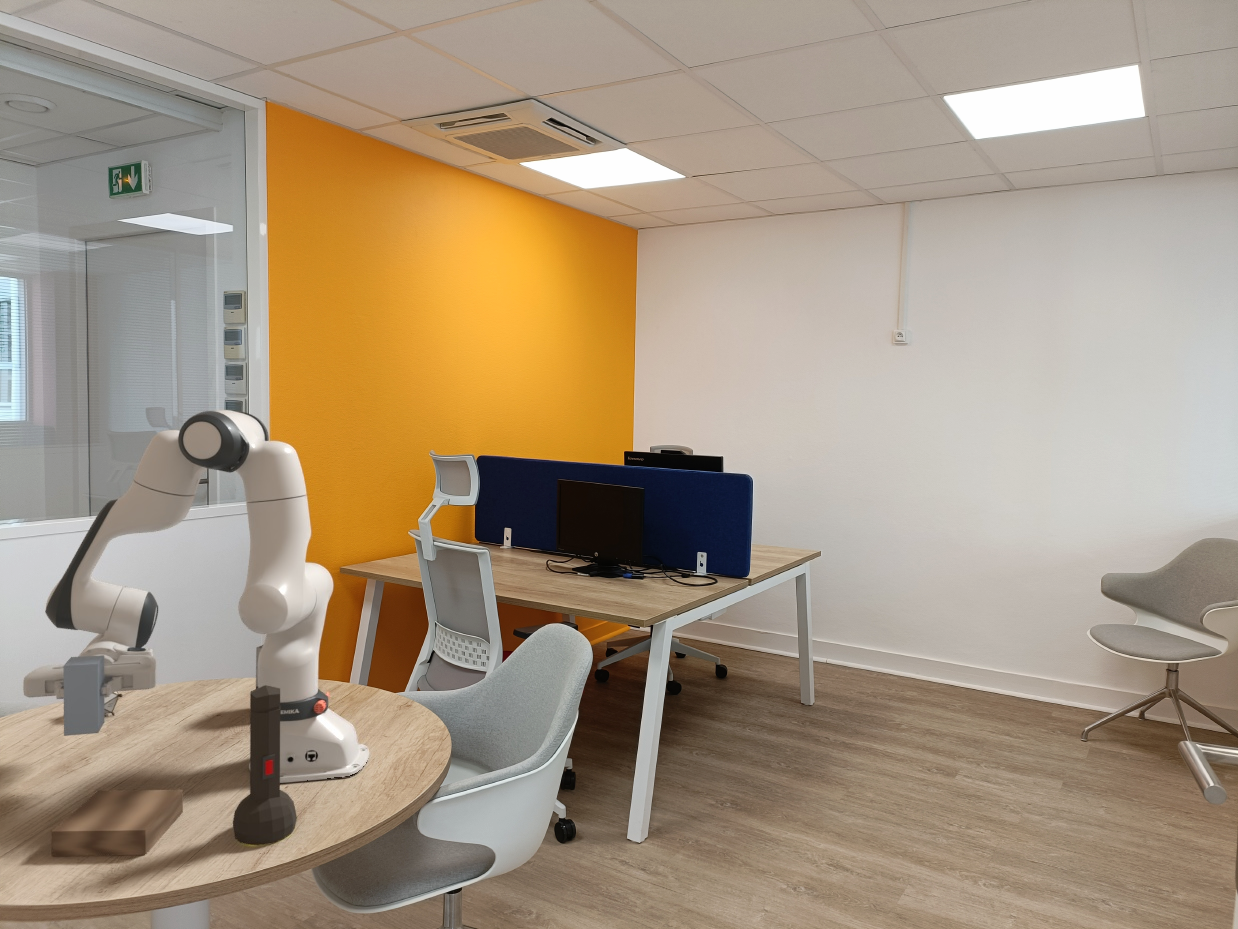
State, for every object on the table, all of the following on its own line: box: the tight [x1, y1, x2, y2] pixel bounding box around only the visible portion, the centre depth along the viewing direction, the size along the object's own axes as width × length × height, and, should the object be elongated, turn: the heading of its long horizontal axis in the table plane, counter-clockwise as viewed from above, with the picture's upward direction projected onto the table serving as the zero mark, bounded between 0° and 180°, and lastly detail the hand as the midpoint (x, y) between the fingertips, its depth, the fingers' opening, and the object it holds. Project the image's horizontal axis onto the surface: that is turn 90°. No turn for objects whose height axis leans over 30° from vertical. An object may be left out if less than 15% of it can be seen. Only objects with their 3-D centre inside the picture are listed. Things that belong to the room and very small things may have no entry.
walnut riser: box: [51, 789, 184, 857], centre depth 141 cm, size 14×14×4 cm
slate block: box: [63, 655, 105, 737], centre depth 146 cm, size 5×5×12 cm
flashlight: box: [232, 685, 298, 846], centre depth 142 cm, size 10×25×10 cm
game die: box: [104, 691, 123, 717], centre depth 191 cm, size 9×8×10 cm
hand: (83, 693), depth 145 cm, fingers closed on slate block, 5 cm apart
